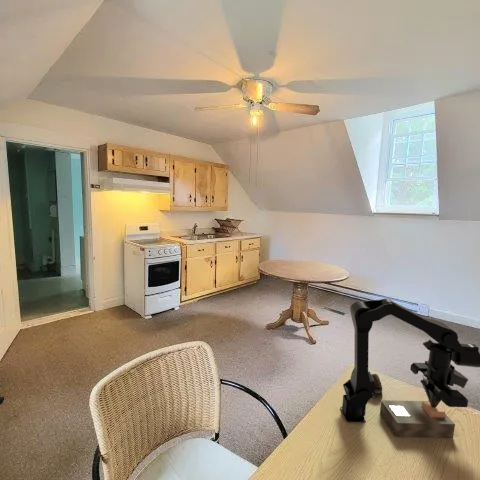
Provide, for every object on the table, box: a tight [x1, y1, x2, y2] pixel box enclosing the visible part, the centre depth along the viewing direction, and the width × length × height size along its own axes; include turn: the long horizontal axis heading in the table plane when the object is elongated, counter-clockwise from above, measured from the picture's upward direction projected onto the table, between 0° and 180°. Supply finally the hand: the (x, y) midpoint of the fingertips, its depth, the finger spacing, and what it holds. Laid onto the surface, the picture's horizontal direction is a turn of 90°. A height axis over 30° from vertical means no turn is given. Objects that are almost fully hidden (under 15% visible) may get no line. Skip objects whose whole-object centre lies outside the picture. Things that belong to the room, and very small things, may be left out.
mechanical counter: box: [347, 373, 384, 397], centre depth 109 cm, size 7×13×10 cm
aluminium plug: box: [389, 406, 410, 417], centre depth 92 cm, size 4×4×5 cm
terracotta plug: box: [422, 402, 446, 418], centre depth 92 cm, size 4×4×5 cm
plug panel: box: [379, 399, 456, 439], centre depth 92 cm, size 18×10×5 cm, turn 90°
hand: (433, 406), depth 92 cm, fingers closed, pressing on terracotta plug
